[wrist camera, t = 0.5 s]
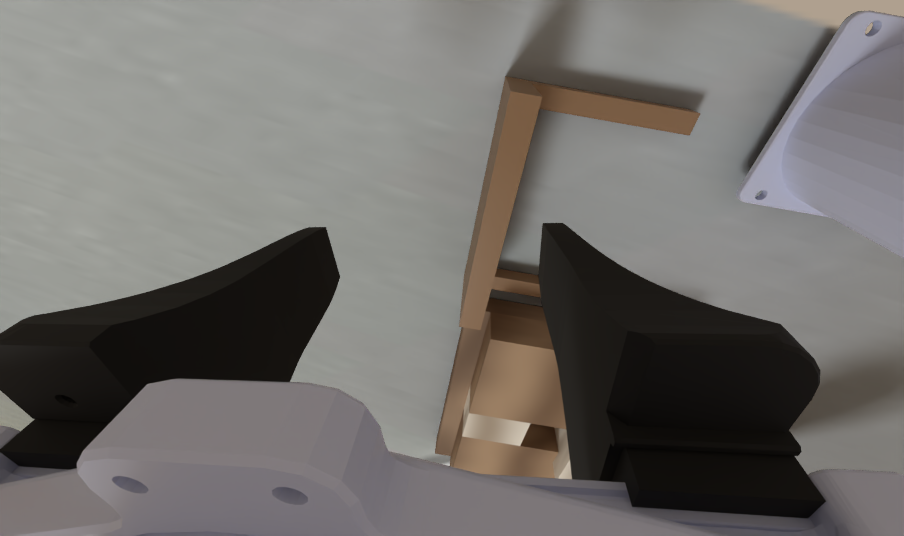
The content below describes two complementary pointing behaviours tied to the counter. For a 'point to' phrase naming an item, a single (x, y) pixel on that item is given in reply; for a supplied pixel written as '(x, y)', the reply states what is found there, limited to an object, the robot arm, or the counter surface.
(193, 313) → the robot arm
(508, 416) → the wooden block stack
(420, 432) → the counter surface
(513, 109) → the wooden l-shaped bracket
